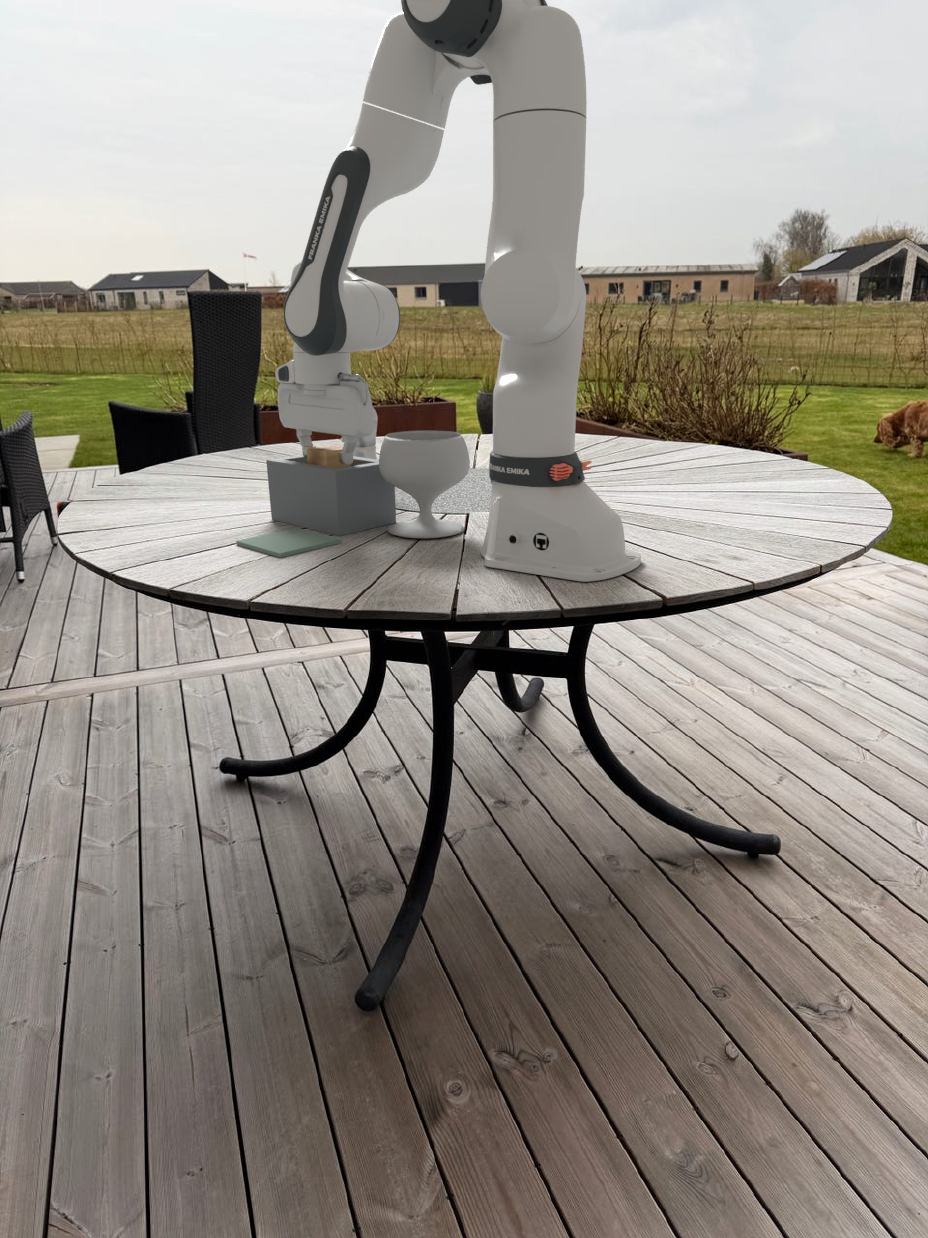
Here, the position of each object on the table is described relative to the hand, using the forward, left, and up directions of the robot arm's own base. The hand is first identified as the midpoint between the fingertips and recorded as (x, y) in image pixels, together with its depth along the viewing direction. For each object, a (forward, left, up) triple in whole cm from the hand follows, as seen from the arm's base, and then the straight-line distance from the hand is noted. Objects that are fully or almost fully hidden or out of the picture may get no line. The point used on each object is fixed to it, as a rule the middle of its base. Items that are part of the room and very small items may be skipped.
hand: (327, 460), depth 128 cm
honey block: (0, 0, -4) cm, 4 cm away
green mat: (-7, +14, -10) cm, 19 cm away
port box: (0, 0, -10) cm, 10 cm away
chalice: (-17, -5, -10) cm, 21 cm away
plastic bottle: (+14, -19, -10) cm, 26 cm away
